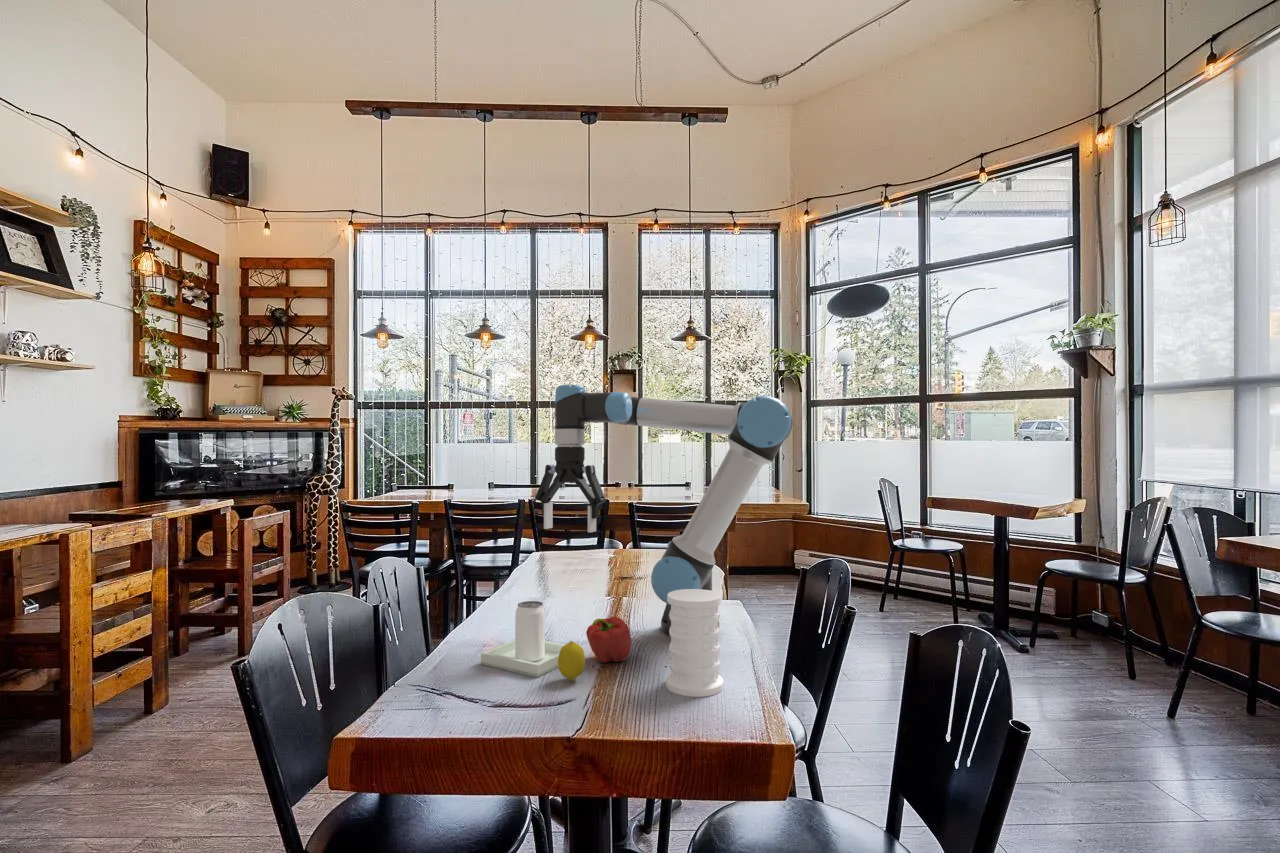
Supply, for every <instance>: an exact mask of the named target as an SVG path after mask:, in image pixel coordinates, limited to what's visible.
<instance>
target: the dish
mask: <svg viewBox="0 0 1280 853" xmlns="http://www.w3.org/2000/svg"><path fill="white" fill-rule="evenodd" d="M564 645H565V644H564V643H559V642H555V641H548V640H545V654H544V657H543V659H542V660H540V661H537V662H530V661H525V660H520V659H516V658H515V639H513V640H510V641H507V642H505V643H503V644H500V645H498V646H495V647H493V648H490V649H488V650H486V651H482V652H481V653H480V666H481V665H482V666H485V667H491V668H495V669H499V670H503V671H508V672H511V673H512V672H513V673H515V674H516V673H517V674H521V675H525V676H529V677H535V678H541V677H543V676H545V675H546V674H549V673H551V672H553V671H554V670H557V669H559V667H558V657H559V653H560V650H561V648H562V647H563V646H564Z"/></svg>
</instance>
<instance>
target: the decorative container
mask: <svg viewBox="0 0 1280 853" xmlns="http://www.w3.org/2000/svg"><path fill="white" fill-rule="evenodd" d="M667 602H668V603H669V604H671V610H670V613H669V617H670V620H671V626H670V629H669V633H670V635H669V636H670V642H669V646H668V649H669V652H670V655H671V656H670V658H669V663H668V665H669V669H670V670H671V671H670V673H669V674H668V675H667V676H666V677H665V687H666V689H667V690H668V691H669V692H671V693H673V694H675V695H680V696H682V697H687V698H688V697H689V698H690V697H691V698H704V697H710V696H714V695H717V694H719V693H721V692H722V691H723V690H724V687H725V684H724V683H725V682H724V681H725V680H724V678H723V676H721V675H720V674H719V671H720V666H721V663H720V659H719V654H720V650H721V645H720V643H719V638H720V634H721V630H720V626H719V627H718V621H719V622H720V617H721V614H720V611H719V605H721V604H722V594H721V593H719V592H717V591H715V590H712V591H710V590H703V589H682V590H675V591H672V592H670V593H668V595H667Z"/></svg>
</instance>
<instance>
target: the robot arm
mask: <svg viewBox="0 0 1280 853" xmlns="http://www.w3.org/2000/svg"><path fill="white" fill-rule="evenodd" d="M554 394H555V395H554V396H555V397H554V402H553V403H554V444H555V445H557V446H555V448H554V460H555V462H556V463H555V464H546V465H545V468H544V475H543V477H542V479H541V482H540V484H539V486H538V489H537V492H536V494H535V497H534V498H535V500H536V501H539V502H540V503H541V515H542V516H543V529H544V530H549V529H553V528H554V526H553V525H554V523H553V522H554V521H553V518H554V517H553V513H554V510H553V505H554V503H553V502H552V499H553V498H554V497H555V495H556V493H557V492H558V491H559V489H560V487H561V486H563V484H567V483H569V484H575V485H577V486H578V488H579V489H580V491H581V492H582V493H583V495H584V497H585V498H586V499H587V501H588V503H589V505H587V533H594V532H597V519H599V516H600V515H599V514H600V505H601V504H604V503H606V502H607V499H606V496H605V494H604V491H603V489H602V487H601V484H600V482H599V480H598V477H597V474H596V467H595V465H593V464H592V465H591V464H590V465H588V464H587V465H586V466H585V465H584V463H585V462H584V461H585V460H586V459H585V456H586V454H585V452H586V451H585V450H586V449H585V447H584V446H583V445H585V443H586V442H585V439H586V438H585V435H586V434H585V424H586V423H609V424H610V423H611V424H617V425H624V426H627V425H628V426H636V427H637V426H639V427H640V426H641V427H651V428H659V429H660V428H661V429H668V430H669V429H670V430H679V431H688V432H699V433H710V434H718V435H727V436H728V437H727V441H728V445H729V449H728V451H727V452H726V455H725V456H724V458H723V460H722V462H721V464H720V466H719V468H718V469H717V471H716V473H715V474H714V477H712V480H711V482H710V484H709V485H708V487H707V489H706V491H705V492H704V494H703V496H702V497H701V500H700V501H699V504H698V505H697V507H696V509H695V510H694V512H693V515H692V516H691V518H690V520H688V524H686V526H685V529H684V530H683V532H682V534H680V535H678V536H674V537H673V538H672V539H671V540H670V541H669V542H667V548H666V550H665V552H664V553H663V555H662V557H661V558H660V559H659V560H658V561H657V562H656V563H655V564H654V566H653V568H652V571H651V576H650V583H651V586H652V587H651V588H652V590H653V592H654V594H655V595H656V596H657V598H658V599H660V600H661V601H662V602H663V603H665V608H664V609H663V610H664V611H663V613H662V617H661V620H660V631H661V632H662V633H663V634H665V635H667V636H670V633H669V629H670V626H671V620H670V617H669V613H670V610H671V604H669V603H668V602H667V595H668V593H670V592H672V591H675V590H682V589H703V590H710V591H713V569H714V566H715V564H716V558H715V551H716V549H717V548H718V546H719V544H720V542H721V540H722V538H723V537H724V535H725V533H726V531H727V529H728V527H729V526H730V524H731V523H732V521H733V519H734V517H735V515H736V513H738V510H739V508H740V506H741V505H742V503H743V501H744V500H745V498H746V496H747V494H748V492H749V490H750V489H751V486H752V485H753V483H754V482H755V480H756V478H757V476H758V475H759V472H760V471H761V469H762V467H764V466H766V465H769V464H771V463H772V462H774V459H775V457H776V456H777V454H778V452H779V451H780V449H781V447H782V445H783V444H784V442H785V441H786V440H787V439H788V437H789V436H790V434H791V432H792V428H793V417H792V414H791V412H790V409H789V408H788V406H787V405H786V404H785V402H783V401H782V400H780V399H779V398H776V397H774V396H772V395H771V396H770V395H760V396H756V397H753V398H751V399H750V400H748V401H747V402H738V403H737V404H735V405H731V404H730V405H729V404H717V403H706V402H693V401H682V400H671V399H668V400H667V399H658V398H648V397H647V398H646V397H637V396H635V397H634V396H631V395H630V394H629V393H627V392H625V391H609V392H608V391H607V392H606V391H605V392H586V390H585V386H583V385H581V384H562V385H558V386H557V387H556V388H555V393H554ZM555 474H556V475H555ZM584 474H585V476H586V478H585V476H584ZM554 476H555V477H554ZM587 481H588V482H587ZM718 627H719V628H720V620H719V621H718Z"/></svg>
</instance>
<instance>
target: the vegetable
mask: <svg viewBox="0 0 1280 853" xmlns="http://www.w3.org/2000/svg"><path fill="white" fill-rule="evenodd" d="M585 634H586V638H587V641H588V643H589V646H590V649H591V652H593V654H594V656H595V658H596V660H597V661H598V662H600V663H603V664H604V663H609V662H611V661H612V662H614V663H619V662H622V661H624V660H626V659H627V658H628V656H629V655H630V653H631V650H632V637H631V632H630V629H629V626H628V625H627V623H626V622H625V621H624V620H623V619H622V618H620V617H618V616H613V615H612V616H610V617H608V618H596V619H595V620H593V622H592V624H590V625H589V626H588V627H587V629H586V631H585Z"/></svg>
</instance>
